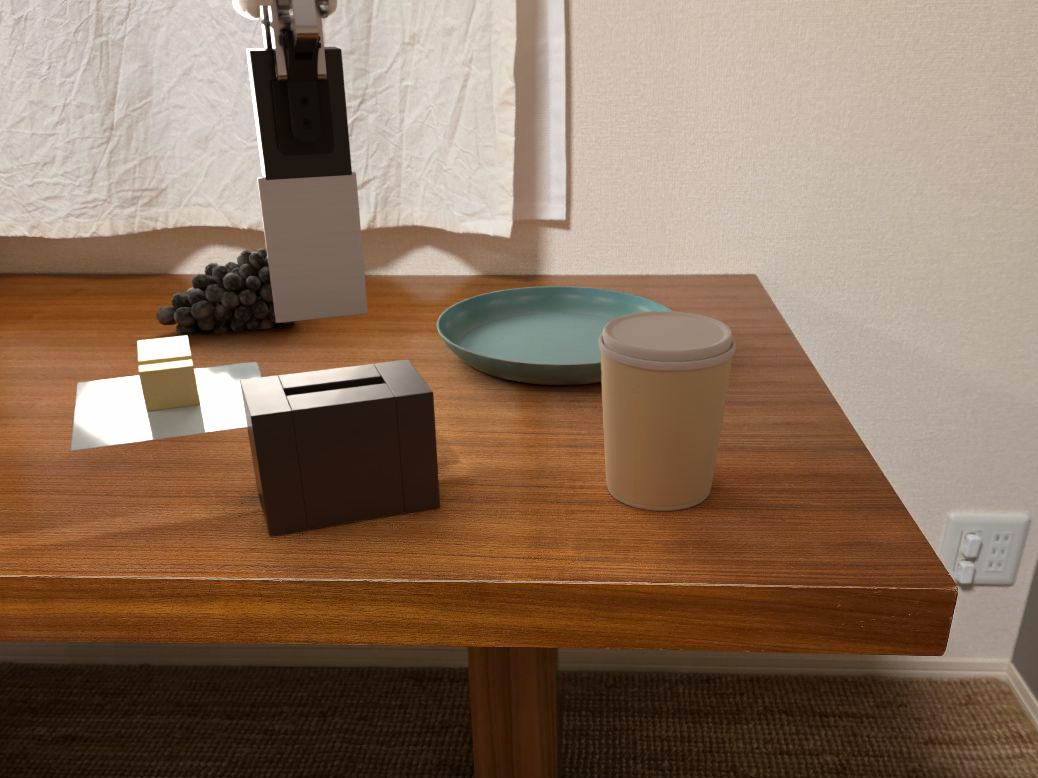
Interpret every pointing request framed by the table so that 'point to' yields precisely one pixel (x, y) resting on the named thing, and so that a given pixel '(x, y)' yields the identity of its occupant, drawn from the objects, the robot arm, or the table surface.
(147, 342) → the butter
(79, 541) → the table surface
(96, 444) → the butter dish
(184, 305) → the fruit
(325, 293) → the knife
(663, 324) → the coffee cup
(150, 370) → the tan square block
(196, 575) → the table surface
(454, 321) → the teal plate
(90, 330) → the table surface
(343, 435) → the stand
